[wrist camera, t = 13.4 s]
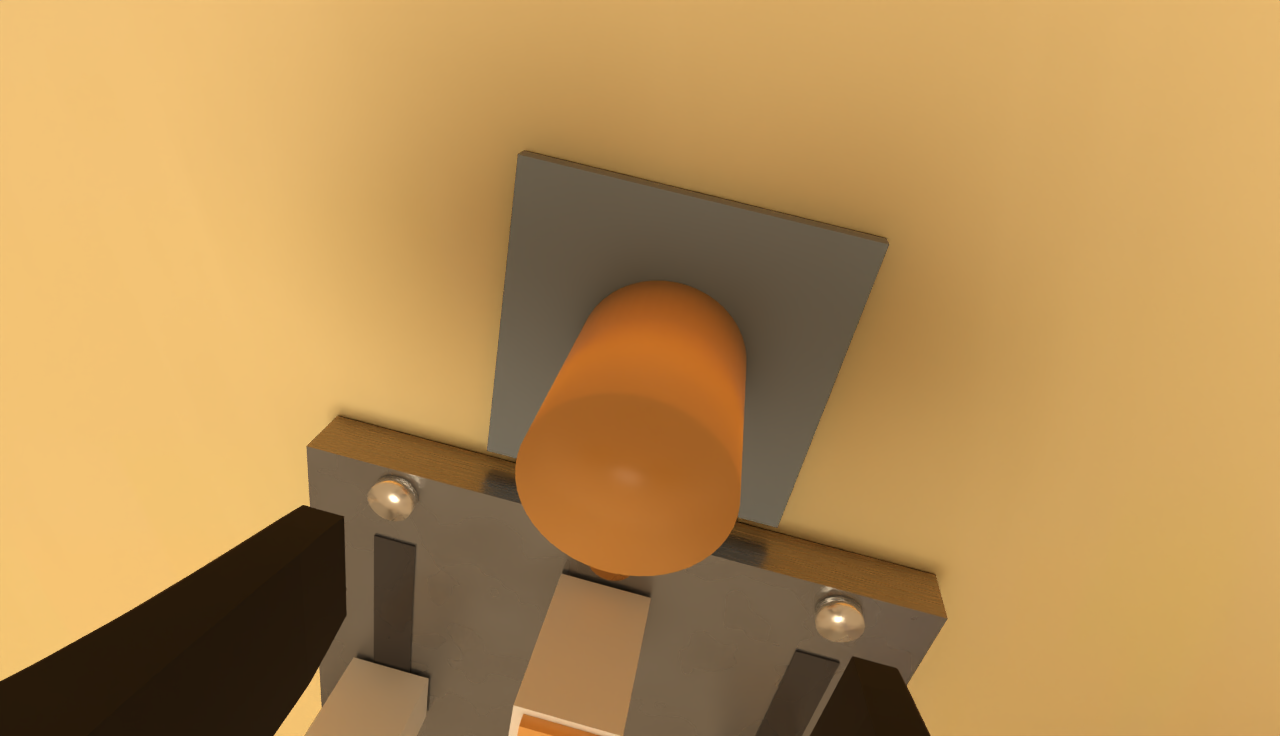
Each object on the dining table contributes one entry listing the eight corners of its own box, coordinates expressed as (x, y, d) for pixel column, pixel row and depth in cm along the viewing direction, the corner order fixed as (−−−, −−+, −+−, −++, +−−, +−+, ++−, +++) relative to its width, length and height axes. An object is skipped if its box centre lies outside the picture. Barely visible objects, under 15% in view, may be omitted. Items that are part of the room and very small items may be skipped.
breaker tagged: (650, 598, 19) (620, 749, 15) (636, 646, 20) (605, 799, 16) (561, 573, 19) (508, 717, 15) (551, 622, 20) (500, 769, 16)
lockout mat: (886, 238, 15) (889, 244, 14) (777, 517, 19) (777, 527, 18) (523, 150, 15) (518, 154, 15) (491, 442, 19) (486, 450, 19)
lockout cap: (755, 287, 15) (751, 405, 11) (738, 437, 17) (730, 588, 13) (577, 274, 16) (507, 382, 12) (580, 421, 18) (521, 562, 14)
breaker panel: (935, 574, 19) (951, 631, 17) (799, 811, 25) (801, 870, 23) (337, 416, 20) (297, 454, 18) (345, 681, 26) (315, 729, 24)
